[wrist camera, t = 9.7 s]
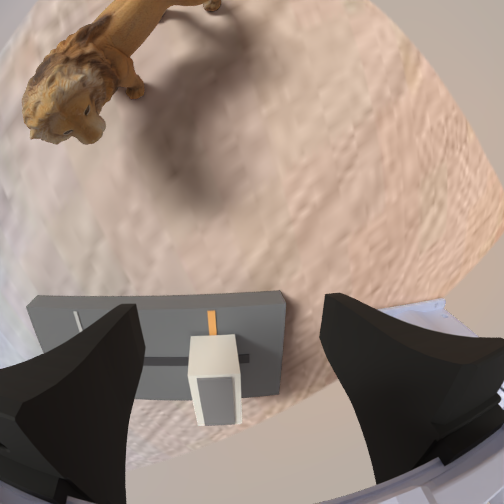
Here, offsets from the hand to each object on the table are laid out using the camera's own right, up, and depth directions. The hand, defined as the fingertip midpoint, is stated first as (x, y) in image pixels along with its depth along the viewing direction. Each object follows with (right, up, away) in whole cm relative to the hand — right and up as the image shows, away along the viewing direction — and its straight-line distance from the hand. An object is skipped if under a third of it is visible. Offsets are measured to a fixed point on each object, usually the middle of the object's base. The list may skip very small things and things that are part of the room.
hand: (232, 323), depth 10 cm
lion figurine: (-6, +15, +4) cm, 17 cm away
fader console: (-7, -5, +11) cm, 14 cm away
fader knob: (-2, -5, +9) cm, 11 cm away
